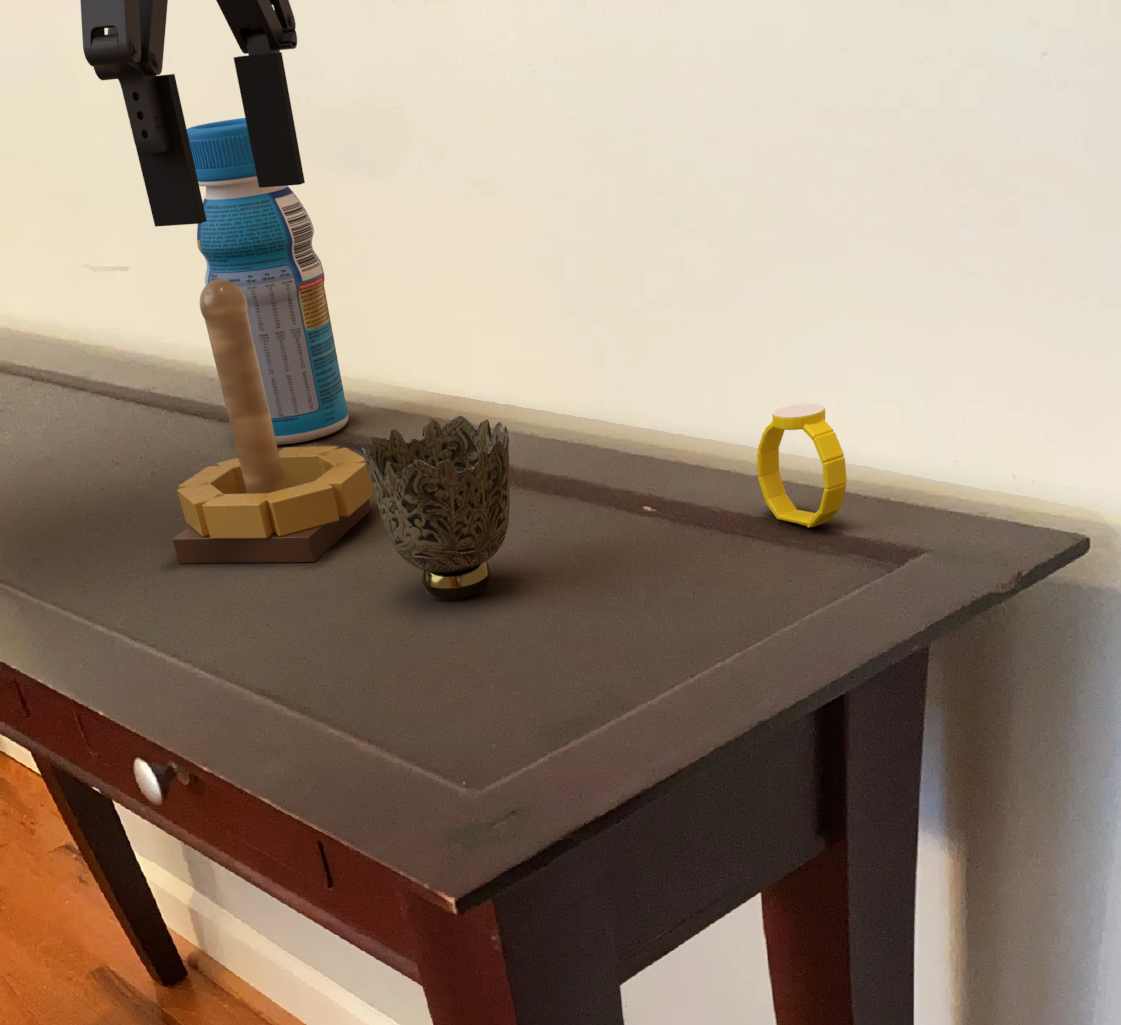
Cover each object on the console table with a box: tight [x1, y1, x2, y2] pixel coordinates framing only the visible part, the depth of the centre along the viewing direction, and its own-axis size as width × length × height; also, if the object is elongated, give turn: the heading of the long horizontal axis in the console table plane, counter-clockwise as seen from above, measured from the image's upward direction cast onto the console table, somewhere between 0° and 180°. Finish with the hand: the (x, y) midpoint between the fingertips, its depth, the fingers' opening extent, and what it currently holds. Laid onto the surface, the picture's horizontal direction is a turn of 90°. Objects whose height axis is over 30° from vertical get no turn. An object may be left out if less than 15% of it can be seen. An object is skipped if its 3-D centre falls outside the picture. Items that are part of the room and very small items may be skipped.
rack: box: [172, 279, 372, 564], centre depth 80 cm, size 9×9×14 cm
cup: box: [361, 415, 511, 601], centre depth 71 cm, size 8×7×8 cm
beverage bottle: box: [186, 117, 350, 446], centre depth 98 cm, size 8×8×20 cm
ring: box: [177, 445, 374, 539], centre depth 83 cm, size 11×11×2 cm
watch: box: [756, 403, 848, 528], centre depth 74 cm, size 6×3×6 cm, turn 32°
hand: (234, 204), depth 77 cm, fingers open, 12 cm apart
